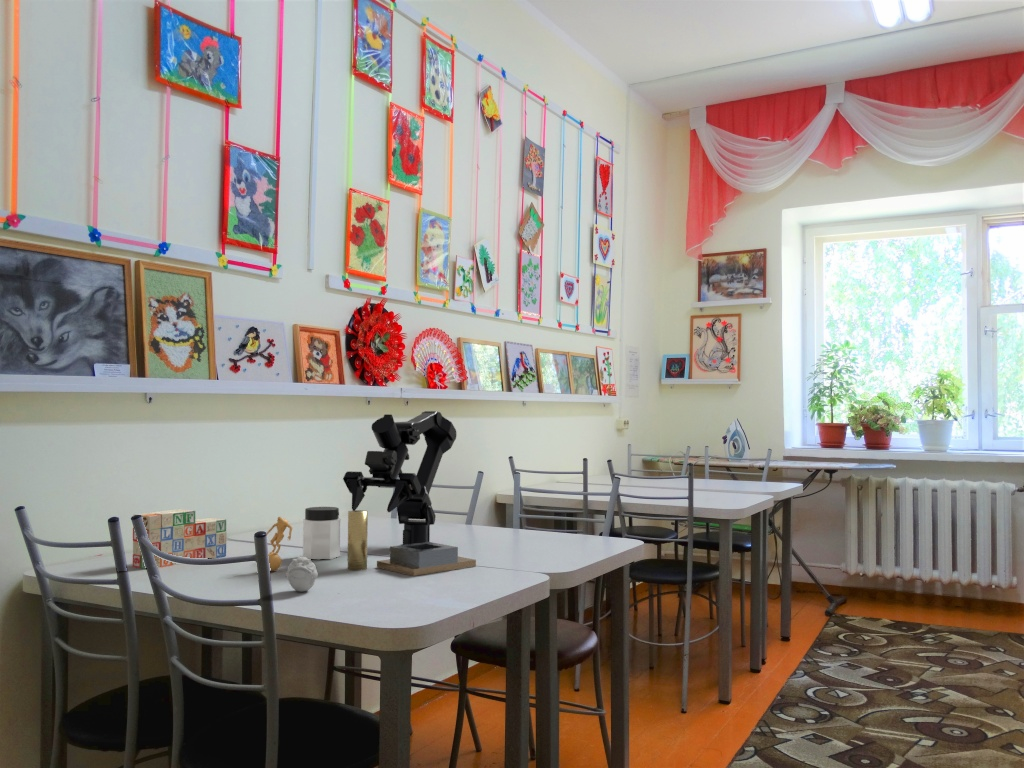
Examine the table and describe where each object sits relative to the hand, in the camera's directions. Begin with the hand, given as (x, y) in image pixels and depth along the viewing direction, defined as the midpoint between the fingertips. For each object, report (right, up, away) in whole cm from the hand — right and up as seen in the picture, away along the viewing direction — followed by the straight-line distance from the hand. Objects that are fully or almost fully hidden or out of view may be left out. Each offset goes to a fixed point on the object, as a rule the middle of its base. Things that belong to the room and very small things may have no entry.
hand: (370, 510), depth 198 cm
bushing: (-2, -12, -6) cm, 14 cm away
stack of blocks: (-46, -13, +2) cm, 48 cm away
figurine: (-20, -12, -9) cm, 25 cm away
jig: (+14, -12, -4) cm, 19 cm away
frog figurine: (-8, -12, -32) cm, 35 cm away
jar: (-14, -13, +9) cm, 21 cm away
